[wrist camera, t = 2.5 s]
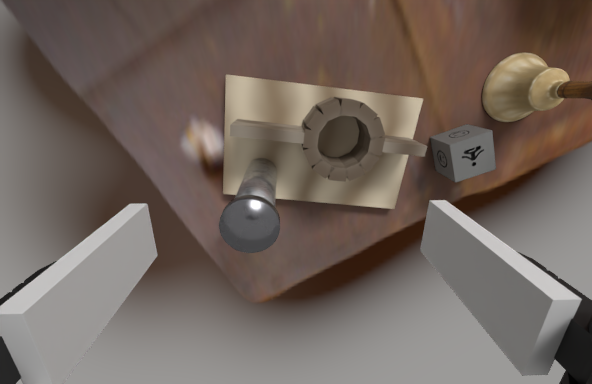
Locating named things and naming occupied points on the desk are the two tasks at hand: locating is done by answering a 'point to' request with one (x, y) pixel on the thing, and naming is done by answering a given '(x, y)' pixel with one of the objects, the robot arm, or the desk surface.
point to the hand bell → (527, 87)
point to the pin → (253, 210)
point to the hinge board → (320, 140)
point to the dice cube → (463, 152)
